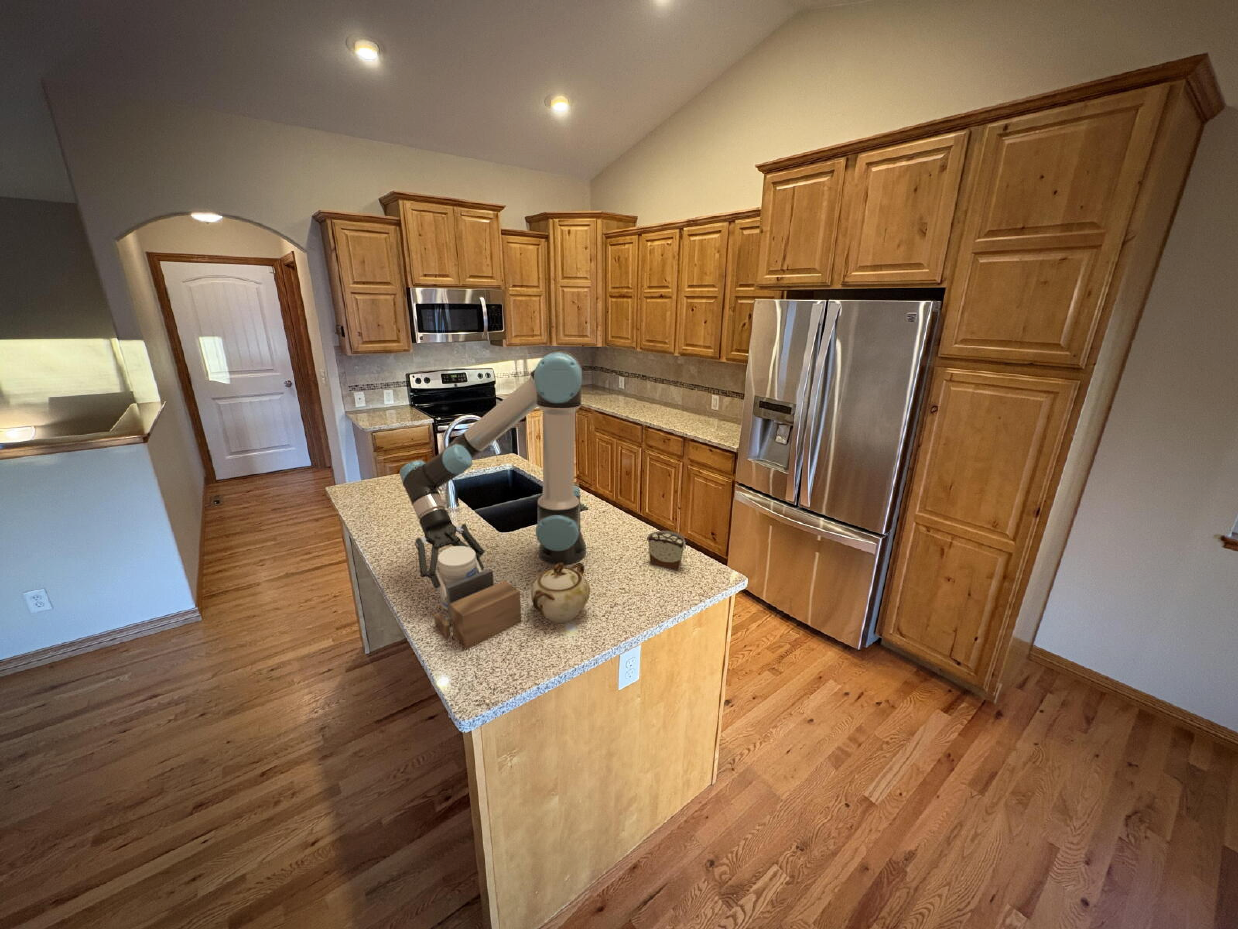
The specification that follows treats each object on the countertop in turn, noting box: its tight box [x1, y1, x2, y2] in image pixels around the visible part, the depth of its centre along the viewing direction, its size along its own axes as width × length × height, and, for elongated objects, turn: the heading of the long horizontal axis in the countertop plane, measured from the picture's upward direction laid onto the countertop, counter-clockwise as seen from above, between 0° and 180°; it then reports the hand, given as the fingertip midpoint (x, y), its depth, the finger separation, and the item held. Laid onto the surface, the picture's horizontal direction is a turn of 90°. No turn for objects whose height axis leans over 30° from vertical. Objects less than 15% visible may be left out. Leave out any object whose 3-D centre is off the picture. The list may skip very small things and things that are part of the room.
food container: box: [646, 530, 687, 573], centre depth 149 cm, size 12×6×10 cm, turn 65°
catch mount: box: [433, 580, 522, 650], centre depth 120 cm, size 13×18×9 cm
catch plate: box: [446, 568, 495, 623], centre depth 122 cm, size 2×12×10 cm, turn 134°
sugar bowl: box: [530, 562, 591, 624], centre depth 123 cm, size 20×15×15 cm
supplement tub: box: [437, 546, 477, 612], centre depth 126 cm, size 10×10×15 cm
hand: (465, 590), depth 124 cm, fingers closed on supplement tub, 9 cm apart
